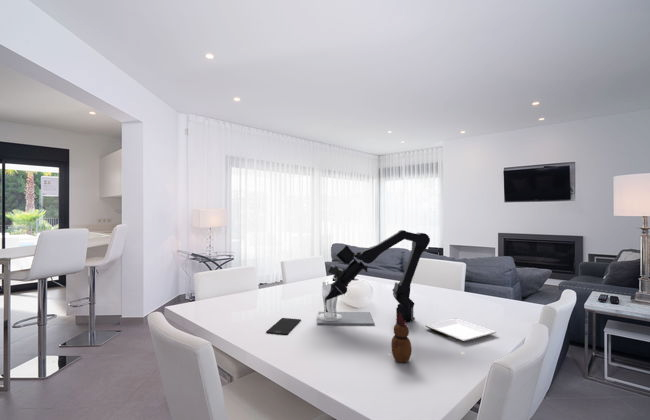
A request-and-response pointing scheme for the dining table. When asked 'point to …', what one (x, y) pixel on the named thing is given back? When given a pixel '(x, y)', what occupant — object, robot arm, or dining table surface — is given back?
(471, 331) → the plate
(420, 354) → the dining table surface
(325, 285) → the beer glass
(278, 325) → the cell phone
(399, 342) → the wooden figurine
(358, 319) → the base plate
